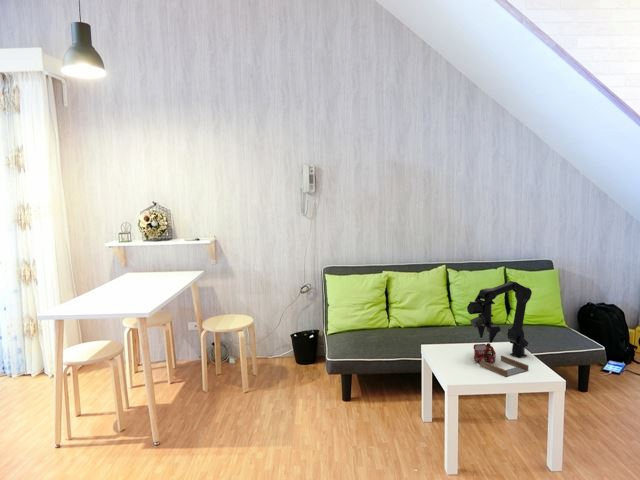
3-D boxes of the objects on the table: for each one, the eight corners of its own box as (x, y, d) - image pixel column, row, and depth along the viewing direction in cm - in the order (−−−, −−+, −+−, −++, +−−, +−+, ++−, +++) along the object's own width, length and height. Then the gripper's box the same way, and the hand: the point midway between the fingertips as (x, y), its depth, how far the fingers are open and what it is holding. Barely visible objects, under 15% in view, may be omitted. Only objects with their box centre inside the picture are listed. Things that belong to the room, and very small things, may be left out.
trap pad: (516, 367, 238) (516, 367, 237) (526, 371, 232) (526, 370, 232) (498, 372, 232) (498, 371, 232) (507, 376, 226) (507, 375, 226)
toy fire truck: (498, 363, 245) (498, 344, 244) (477, 365, 243) (477, 346, 242) (492, 359, 252) (492, 341, 251) (471, 360, 250) (471, 342, 249)
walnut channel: (502, 360, 248) (502, 355, 248) (528, 370, 233) (528, 365, 233) (480, 366, 241) (480, 360, 241) (505, 377, 226) (505, 371, 225)
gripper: (463, 309, 253) (463, 336, 255) (482, 317, 235) (482, 346, 236) (481, 308, 255) (481, 334, 257) (501, 316, 237) (500, 344, 239)
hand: (485, 340), depth 247 cm, fingers open, 9 cm apart
